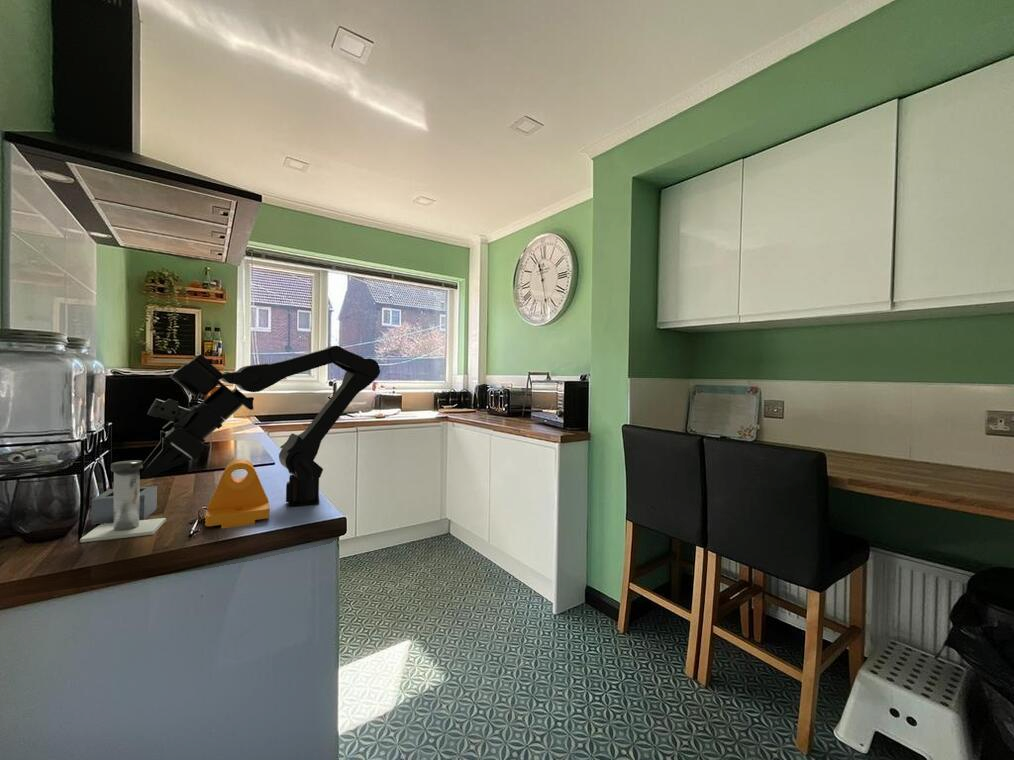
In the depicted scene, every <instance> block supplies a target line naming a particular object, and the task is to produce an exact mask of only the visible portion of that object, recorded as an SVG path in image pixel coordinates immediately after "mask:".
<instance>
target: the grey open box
mask: <svg viewBox="0 0 1014 760" xmlns="http://www.w3.org/2000/svg"><path fill="white" fill-rule="evenodd" d="M157 502H158V485H151V486H140V502H139V520H147V518H149V517H150V516H151V515H152V514H153V513H154V512H155V511H156V510H157V509H158V507H157V506H158V503H157ZM90 516H91V517H90V518H91V519H90V522H91V523H90V524H91V525H90V526H96V524H104V523H113V521H114V488H109V489H107V490H105V491H104V492H102V493H100V494H98V495H97V496H95V497H93V498H92V499H91V515H90Z"/></svg>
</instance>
